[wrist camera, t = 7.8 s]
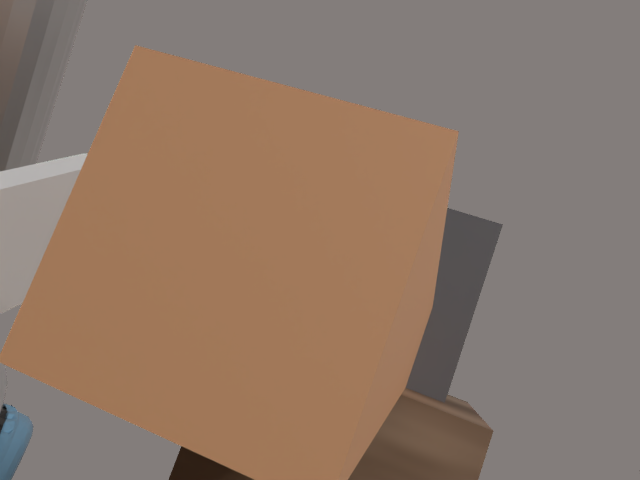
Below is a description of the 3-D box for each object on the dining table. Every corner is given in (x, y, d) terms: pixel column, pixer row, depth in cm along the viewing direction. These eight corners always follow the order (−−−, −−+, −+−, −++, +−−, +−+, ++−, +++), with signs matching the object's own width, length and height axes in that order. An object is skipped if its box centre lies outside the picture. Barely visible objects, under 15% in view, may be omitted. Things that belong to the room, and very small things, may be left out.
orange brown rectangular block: (527, 604, 4) (773, -235, 5) (-127, 304, 6) (156, -292, 7) (440, 392, 30) (485, 253, 31) (320, 346, 32) (367, 215, 33)
